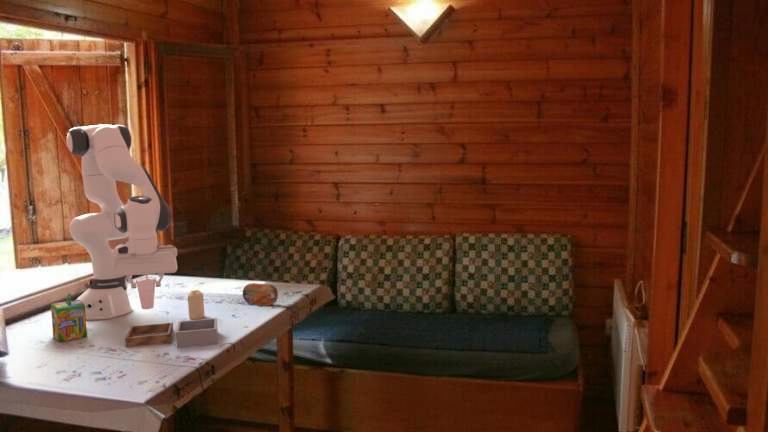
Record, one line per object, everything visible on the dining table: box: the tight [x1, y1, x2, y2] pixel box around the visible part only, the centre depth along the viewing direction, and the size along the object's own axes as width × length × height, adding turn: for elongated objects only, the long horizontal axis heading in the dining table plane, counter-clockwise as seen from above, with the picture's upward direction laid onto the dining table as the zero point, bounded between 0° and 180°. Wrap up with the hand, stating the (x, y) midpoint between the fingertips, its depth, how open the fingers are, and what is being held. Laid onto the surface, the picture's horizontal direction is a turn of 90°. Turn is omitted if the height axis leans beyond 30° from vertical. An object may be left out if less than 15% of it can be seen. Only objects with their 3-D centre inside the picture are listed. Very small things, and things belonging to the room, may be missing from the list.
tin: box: [242, 282, 279, 307], centre depth 259 cm, size 15×3×8 cm, turn 68°
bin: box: [175, 317, 219, 349], centre depth 216 cm, size 13×13×5 cm
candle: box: [187, 289, 205, 320], centre depth 243 cm, size 6×6×10 cm
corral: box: [124, 322, 174, 348], centre depth 219 cm, size 14×14×3 cm
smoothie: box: [135, 274, 157, 310], centre depth 217 cm, size 6×6×14 cm
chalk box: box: [50, 293, 88, 343], centre depth 222 cm, size 9×9×15 cm
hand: (146, 287), depth 217 cm, fingers closed on smoothie, 6 cm apart
